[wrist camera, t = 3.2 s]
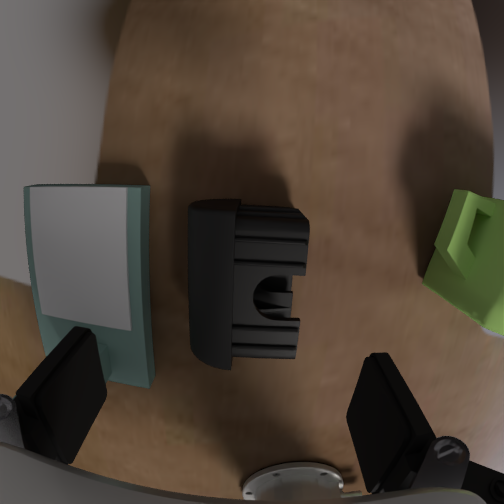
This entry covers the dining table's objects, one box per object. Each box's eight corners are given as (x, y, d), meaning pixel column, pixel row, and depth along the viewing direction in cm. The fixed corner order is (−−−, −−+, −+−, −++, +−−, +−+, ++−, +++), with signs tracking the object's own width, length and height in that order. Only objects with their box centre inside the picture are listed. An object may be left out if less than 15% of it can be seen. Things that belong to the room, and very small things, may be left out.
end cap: (199, 196, 23) (177, 208, 17) (297, 200, 23) (313, 215, 17) (199, 320, 26) (182, 368, 19) (286, 325, 26) (294, 374, 19)
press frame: (150, 185, 23) (-5, 229, 7) (155, 375, 27) (95, 518, 12) (37, 184, 23) (-115, 221, 7) (57, 354, 27) (-29, 457, 12)
